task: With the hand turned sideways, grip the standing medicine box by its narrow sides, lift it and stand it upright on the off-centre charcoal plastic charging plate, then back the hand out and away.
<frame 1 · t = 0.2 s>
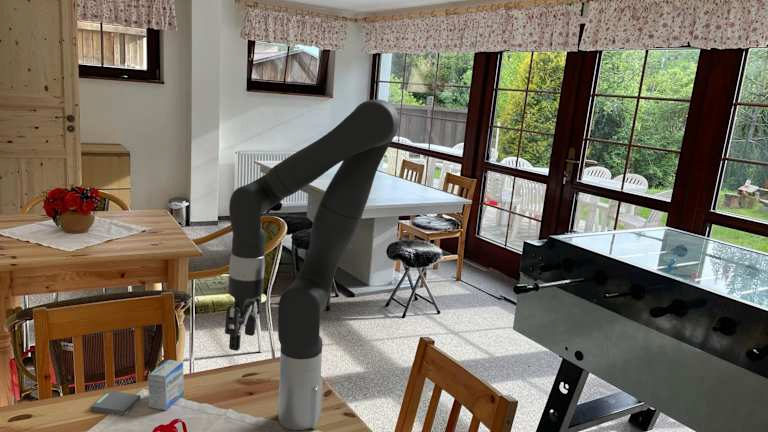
hand: (242, 341, 134), 18 cm above the table, tool pointing down, fingers open, 8 cm apart
medicine box: (166, 401, 141), on the table
charging plate: (116, 405, 137), on the table
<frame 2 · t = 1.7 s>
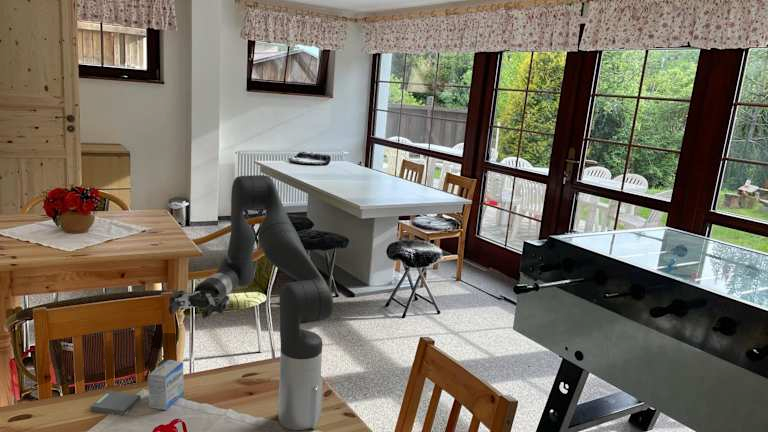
hand: (187, 312, 147), 18 cm above the table, tool horizontal, fingers open, 8 cm apart
nothing on the table moved.
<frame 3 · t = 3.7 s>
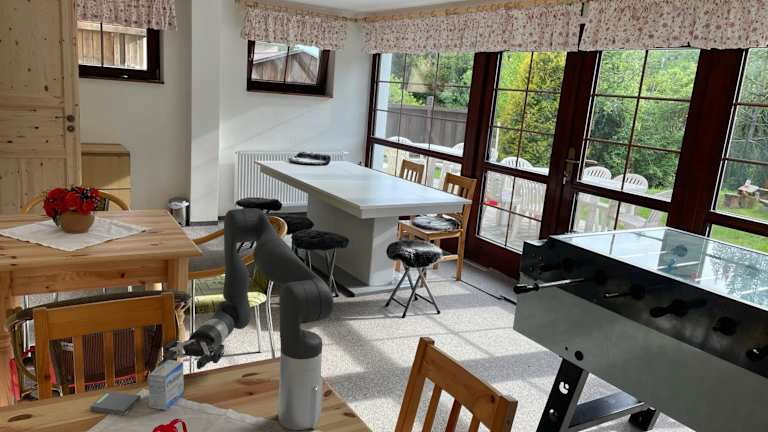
hand: (181, 363, 146), 6 cm above the table, tool horizontal, fingers open, 8 cm apart
nothing on the table moved.
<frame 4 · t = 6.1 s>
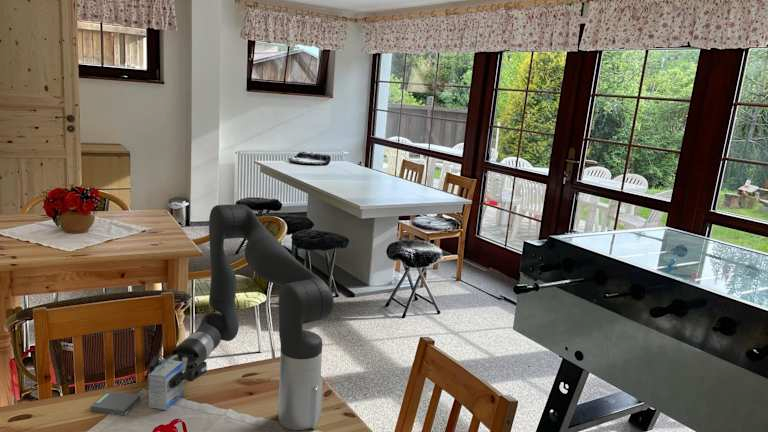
hand: (160, 382, 137), 6 cm above the table, tool horizontal, fingers closed on medicine box, 4 cm apart
medicine box: (166, 401, 141), on the table, touching gripper
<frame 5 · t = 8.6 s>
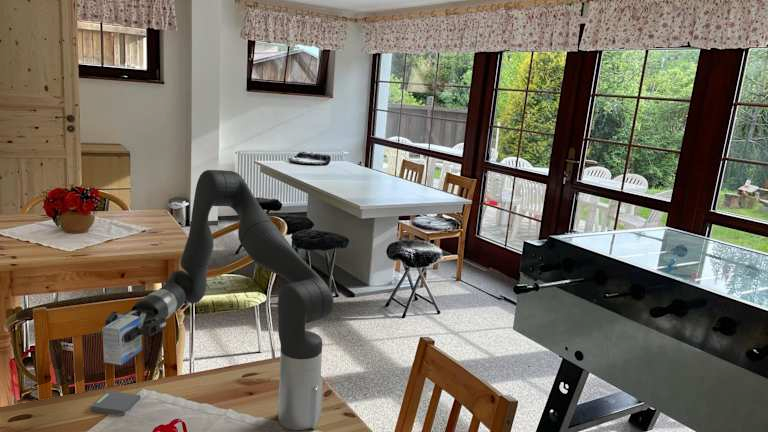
hand: (115, 337, 132), 18 cm above the table, tool horizontal, fingers closed on medicine box, 4 cm apart
medicine box: (123, 357, 136), point 11 cm above the table, touching gripper
when the fingers open (8 cm above the table, at t = 11.6 s): medicine box stays where it is, resting on charging plate.
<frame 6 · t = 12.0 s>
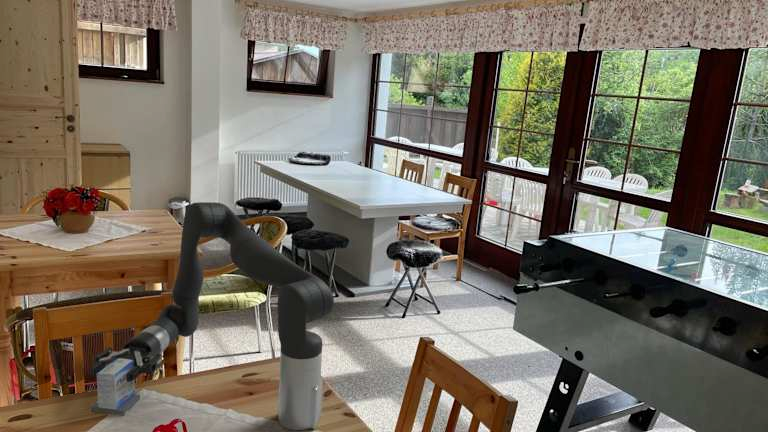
hand: (110, 375, 134), 8 cm above the table, tool horizontal, fingers open, 8 cm apart
medicine box: (117, 401, 137), point 1 cm above the table, touching charging plate
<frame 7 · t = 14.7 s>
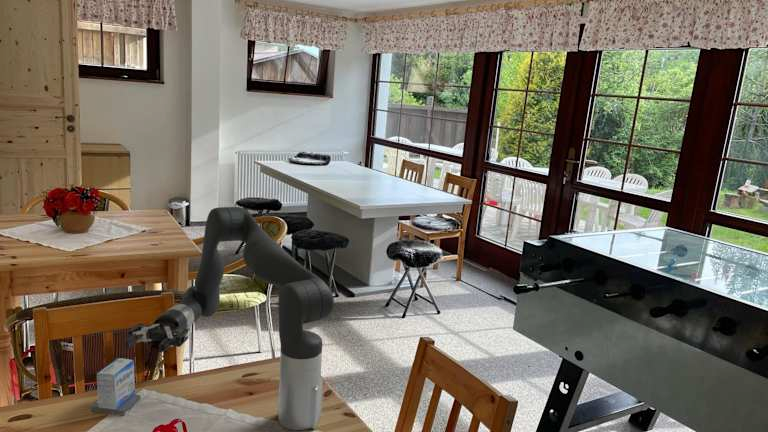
hand: (143, 346, 146), 10 cm above the table, tool horizontal, fingers open, 8 cm apart
nothing on the table moved.
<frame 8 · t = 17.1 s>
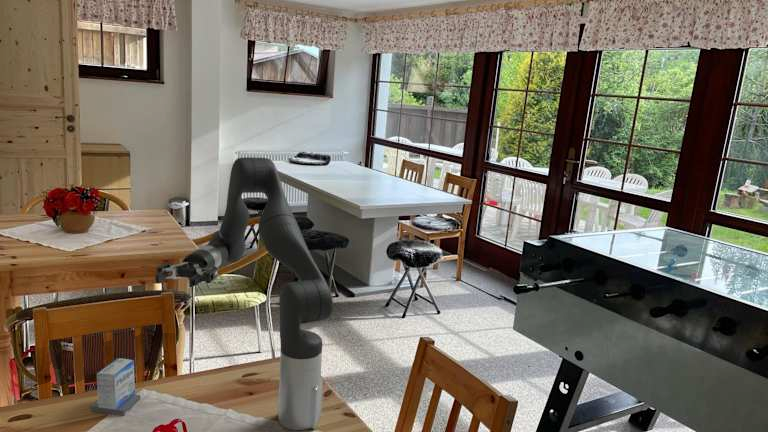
hand: (174, 281, 145), 26 cm above the table, tool horizontal, fingers open, 8 cm apart
nothing on the table moved.
at the end: medicine box inside the target area on the charging plate (0.2 cm from its centre), point 1.0 cm above the charging plate's base; medicine box tilted 0°; the gripper is holding nothing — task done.
